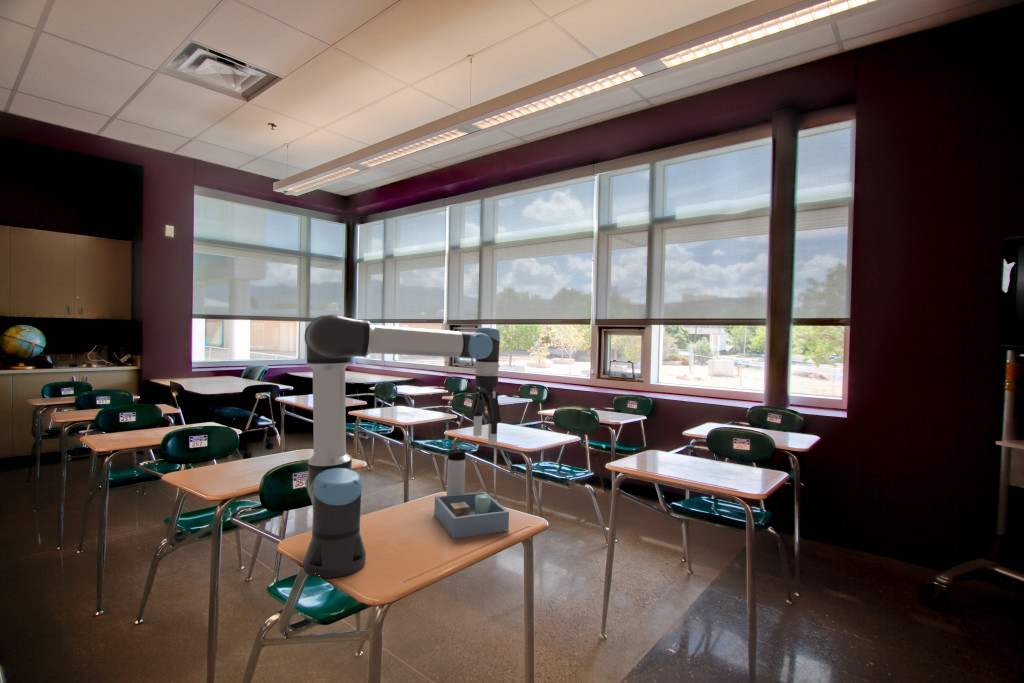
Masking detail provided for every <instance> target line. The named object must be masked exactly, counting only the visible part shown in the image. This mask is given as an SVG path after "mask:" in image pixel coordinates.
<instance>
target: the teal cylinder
mask: <svg viewBox="0 0 1024 683" xmlns="http://www.w3.org/2000/svg"><path fill="white" fill-rule="evenodd" d="M487 494H488V493H487ZM487 494H478V495H476V496H475V515H477V514H485V513H490V496H491V495H490V494H488V495H487Z"/></svg>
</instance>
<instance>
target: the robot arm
mask: <svg viewBox="0 0 1024 683" xmlns="http://www.w3.org/2000/svg"><path fill="white" fill-rule="evenodd" d="M304 331H305V332H304V342H305V345H306V365H307V366H309V368H311V370H312V414H313V416H312V417H313V419H312V420H313V421H312V422H313V427H312V428H313V454H312V456H311V457H310V458H309V459H308V460H307V477H306V491H307V494H308V496H309V498H310V501H311V505H312V524H311V525H312V526H311V528H312V531H311V539H310V542H309V545H308V547H307V550H306V552H305V556H304V557H303V571H304V573H306V575H309V576H312V577H315V578H319V579H333V578H340V577H345V576H348V575H352V574H353V573H357V572H358V571H360V570H361V569H362V568H363V567H365V565H366V563H367V562H366V560H367V558H366V557H367V553H366V548H365V546H364V541H363V539H362V538H363V537H362V535H361V510H362V509H361V507H362V506H361V505H362V503H361V502H362V490H363V485H362V484H363V483H362V477H361V475H360V474H359V473H358V472H357V471H356V470H354V469H352V466H353V465H352V464H353V463H352V455H350V454H348V453H347V434H346V433H347V432H346V430H347V427H346V424H347V421H346V420H347V419H346V415H347V414H346V369H347V367H348V366H350V364H351V362H352V360H351V357H353V358H354V357H358V358H359V357H363V358H364V357H368V355H371V354H380V355H381V354H382V355H400V356H403V355H404V356H419V357H420V356H423V357H444V358H445V357H447V358H462V359H464V358H465V359H475V368H474V370H475V371H474V373H475V374H476V375H475V376H474V377H475V378H474V386H475V392H474V397H473V402H472V406H471V407H472V408H471V414H472V415H473V429H472V430H473V432H472V433H473V435H472V436H473V437H475V436H476V437H479V436H482V431H483V430H482V429H483V416H484V414H483V411H484V409H485V407H486V411H487V412H486V413H487V416H488V419H489V420H488V422H487V424H488V425H487V426H488V431H487V445H497V443H498V442H497V441H498V424H499V423H501V422H502V419H501V413H500V407H499V406H500V404H499V399H498V398H499V395H498V391H494V388H497V387H498V386H499V376H498V374H499V368H500V366H501V365H500V363H499V362H500V343H501V341H500V340H501V337H500V336H501V335H500V330H499V329H498V328H496V327H478V328H477V329H476V332H472V331H471V332H470V331H468V332H467V331H458V330H457V331H455V330H445V329H429V328H419V327H418V328H416V327H406V326H403V327H402V326H392V325H391V326H388V325H378V324H377V325H376V324H372V323H371V322H370V321H369V320H364V319H363V320H362V319H356V318H350V317H345V316H342V315H337V314H327V315H320V316H318V317H317V316H316V317H315V318H314V319H312V320H311V321H310V322H309V323H308V325H307V326H306V329H305V330H304ZM315 573H316V574H315ZM318 575H320V576H318ZM322 577H323V578H322Z"/></svg>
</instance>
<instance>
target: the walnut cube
mask: <svg viewBox="0 0 1024 683" xmlns="http://www.w3.org/2000/svg"><path fill="white" fill-rule="evenodd" d="M450 511H451V512H452V513H453V514H454V515H455V516H456V517H461V516H469V513H470V507H469V506H468V505H467V504H466V503H465V502H459V503H450Z"/></svg>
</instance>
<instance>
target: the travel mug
mask: <svg viewBox="0 0 1024 683" xmlns="http://www.w3.org/2000/svg"><path fill="white" fill-rule="evenodd" d="M467 452H468V450H467V448H455V449H451V450H449V451H448V453H447V473H446V475H447V477H446V496H447V495H457V494H465V484H466V483H465V482H466V480H465V479H466V453H467Z"/></svg>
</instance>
